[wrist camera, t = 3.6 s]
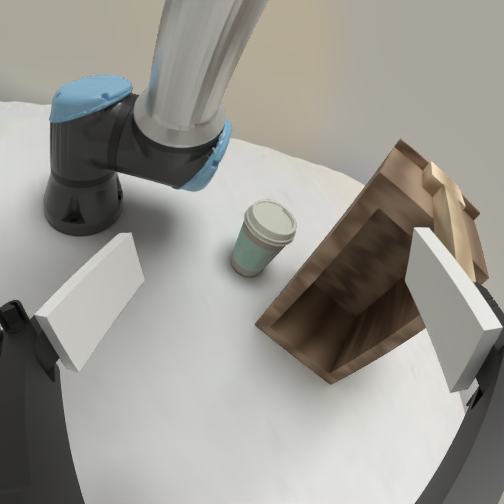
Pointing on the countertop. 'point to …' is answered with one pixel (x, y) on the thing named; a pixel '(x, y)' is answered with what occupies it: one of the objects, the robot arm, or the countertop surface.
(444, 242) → the beige long flat part
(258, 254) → the coffee cup
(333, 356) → the walnut shelf
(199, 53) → the robot arm
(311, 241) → the countertop surface
